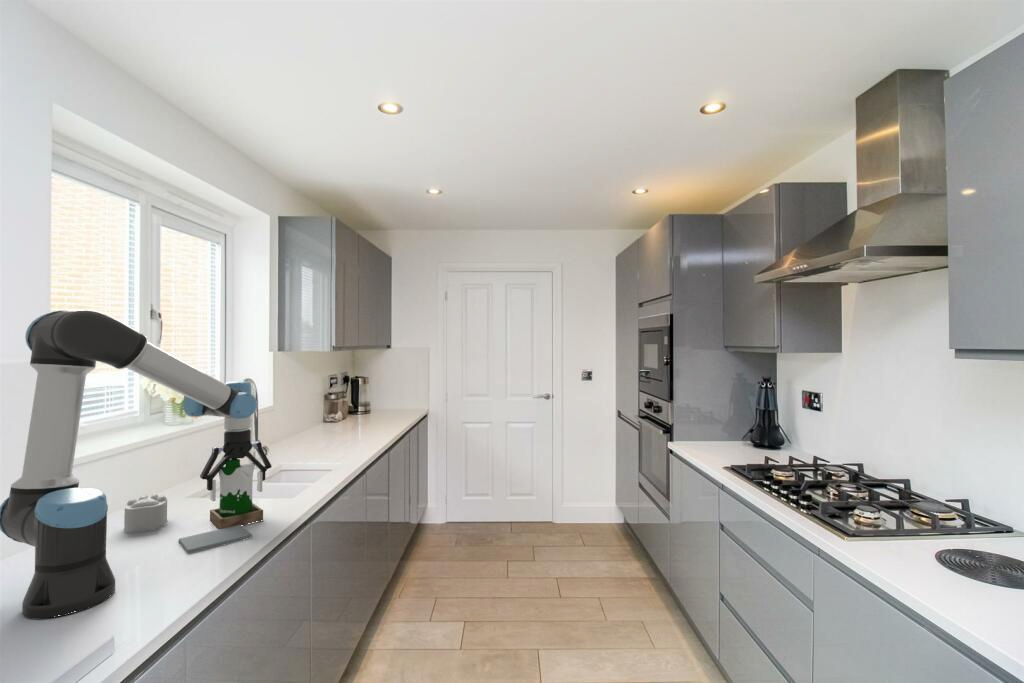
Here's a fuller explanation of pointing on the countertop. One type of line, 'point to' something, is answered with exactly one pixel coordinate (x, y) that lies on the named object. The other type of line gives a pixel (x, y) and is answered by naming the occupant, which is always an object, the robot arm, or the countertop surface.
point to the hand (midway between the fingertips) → (237, 495)
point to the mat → (214, 538)
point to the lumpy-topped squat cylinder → (145, 513)
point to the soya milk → (236, 488)
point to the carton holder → (236, 518)
